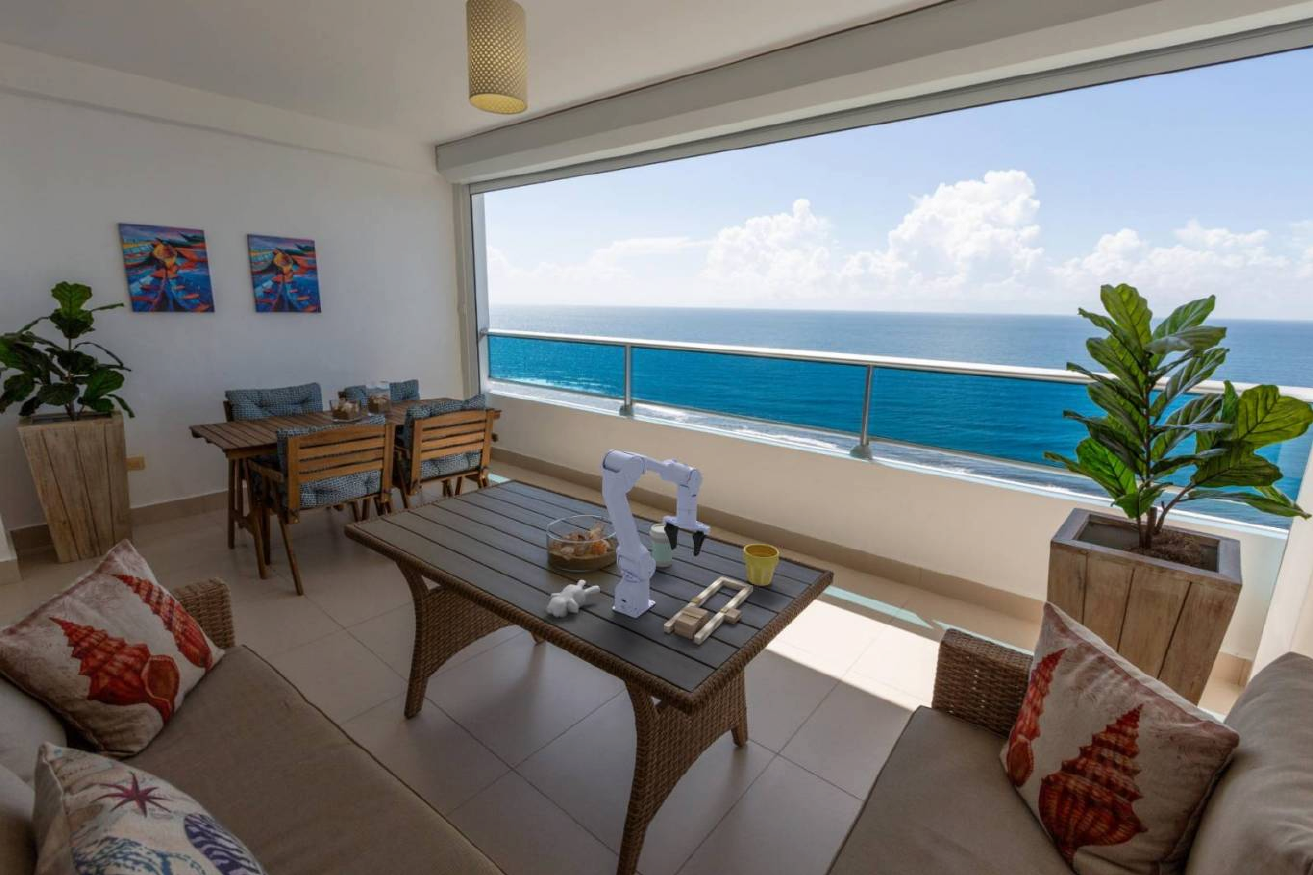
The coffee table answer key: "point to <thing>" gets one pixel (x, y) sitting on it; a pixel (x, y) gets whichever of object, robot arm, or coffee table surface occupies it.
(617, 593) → the robot arm
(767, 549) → the plant pot
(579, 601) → the bunny figurine
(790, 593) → the coffee table surface
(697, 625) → the rider block
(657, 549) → the coffee cup
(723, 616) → the beam slot
